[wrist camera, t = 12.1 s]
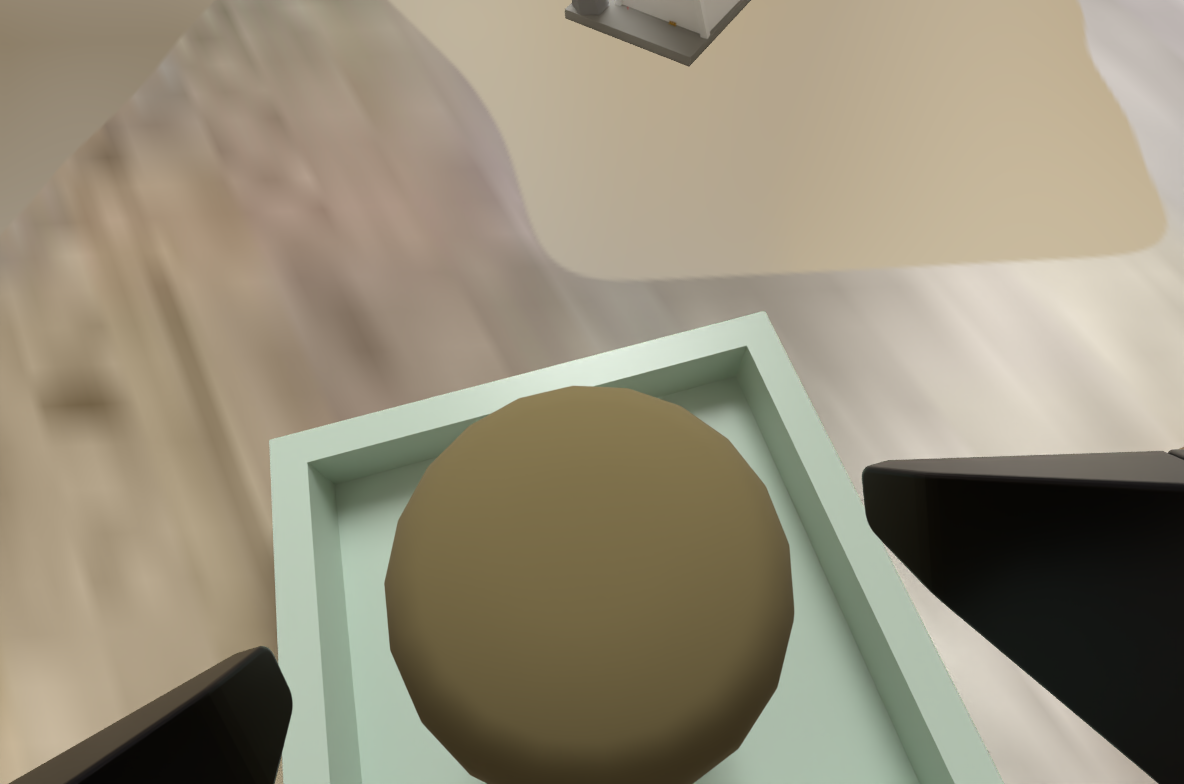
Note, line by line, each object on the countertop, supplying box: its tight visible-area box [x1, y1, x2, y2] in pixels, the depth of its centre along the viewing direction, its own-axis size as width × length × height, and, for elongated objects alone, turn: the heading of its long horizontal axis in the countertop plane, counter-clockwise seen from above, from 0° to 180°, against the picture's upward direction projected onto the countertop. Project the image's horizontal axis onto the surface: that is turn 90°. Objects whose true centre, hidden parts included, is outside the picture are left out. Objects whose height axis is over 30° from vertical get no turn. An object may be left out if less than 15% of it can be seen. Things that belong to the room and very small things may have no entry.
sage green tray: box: [269, 311, 1004, 784], centre depth 16 cm, size 15×15×2 cm
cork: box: [384, 386, 794, 784], centre depth 12 cm, size 6×6×11 cm
